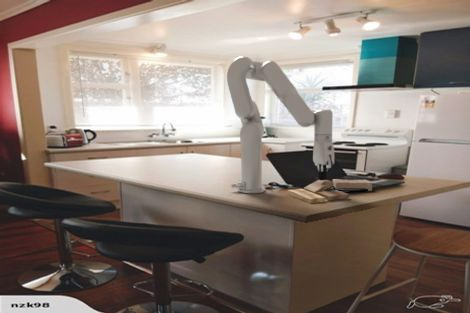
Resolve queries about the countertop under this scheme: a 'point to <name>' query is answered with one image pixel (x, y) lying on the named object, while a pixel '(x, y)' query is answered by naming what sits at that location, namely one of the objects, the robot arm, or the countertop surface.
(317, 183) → the plank
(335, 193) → the plank
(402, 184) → the countertop surface
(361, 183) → the brick
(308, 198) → the laid board
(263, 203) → the countertop surface
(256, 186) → the robot arm
